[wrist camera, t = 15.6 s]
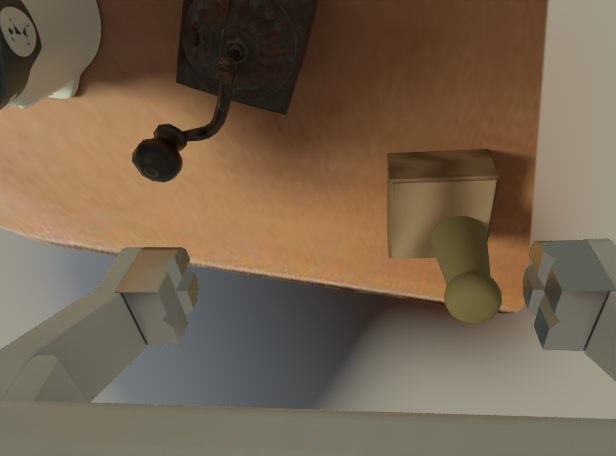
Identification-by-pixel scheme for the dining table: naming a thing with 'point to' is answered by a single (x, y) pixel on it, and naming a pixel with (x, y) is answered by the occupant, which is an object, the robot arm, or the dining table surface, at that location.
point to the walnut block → (435, 196)
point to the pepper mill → (231, 67)
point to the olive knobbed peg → (466, 269)
